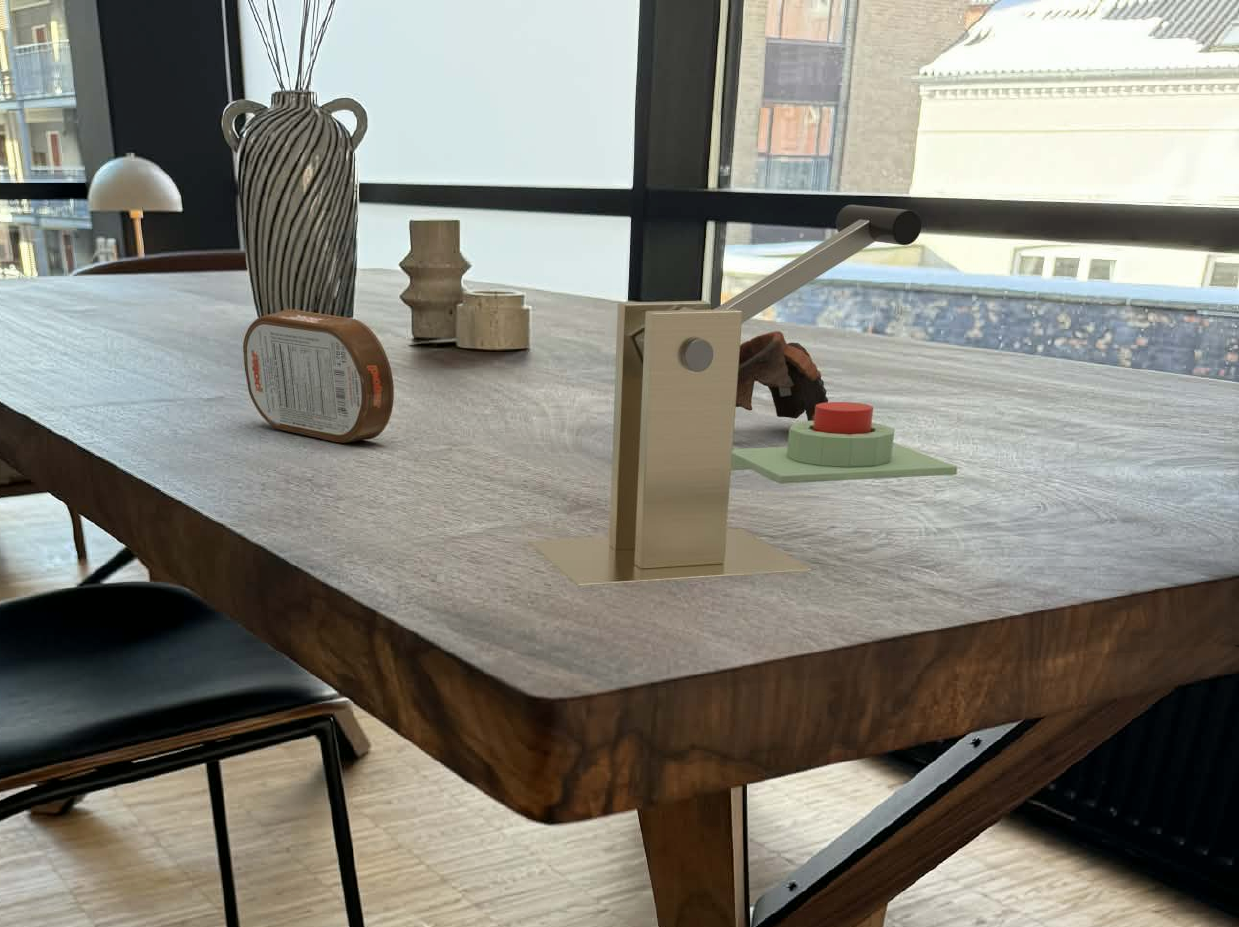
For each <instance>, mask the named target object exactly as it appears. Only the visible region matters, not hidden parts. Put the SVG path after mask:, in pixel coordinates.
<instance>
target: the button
mask: <svg viewBox="0 0 1239 927" xmlns="http://www.w3.org/2000/svg"><path fill="white" fill-rule="evenodd" d="M873 414H874V407H873V406H872V405H870V404H867V403H862V402H861V403H860V402H852V401H828V402H826V403H820V404H817V405H816V406H815V416H814V426H813V430H814V431H817V432H824V433H832V434H866V433H870V432H871V424H872V423H873Z"/></svg>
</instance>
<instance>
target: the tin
mask: <svg viewBox="0 0 1239 927" xmlns="http://www.w3.org/2000/svg"><path fill="white" fill-rule="evenodd" d="M242 350H243V352H242V353H243V364H244V365H243V366H244V372H245V377H246V378H245V379H246V383H247V389H248V393H249V394H248V395H249V396H250V399H251V401H252V403H253V405H254V407H255V409H256V410H257V412H258V413H259V415H260V416H261V417H262V418H263V420H265V421H266V422H267V423H268V425H270V426H272V427H273V428H275V429H276V430H277V429H278V430H281V431H284V432H290V433H294V434H299V435H303V436H308V437H312V438H316V439H321V440H325V441H329V442H334V443H339V444H340V443H341V444H349V443H354V442H359V441H363V440H364V441H366V440H373V439H375V438H377V437H378V436H379V435H381V434H382V433H383V431H384V430H385V429H386V427H387V426H388V425H389V424H388V423H389V421H390V419H391V415H392V413H393V408H394V399H395V387H394V386H395V385H394V379H393V378H394V377H393V372H392V367H391V364H390V361H389V357H388V356H387V353H386V351H385V348H384V347H383V344H382V343H381V341H380V340H379V338H378V337H377V335H376V333H374V331H373V330H372V329H371V328H370V327H369V326H368V325H366V324H365V323H364V322H362V321H361V320H358V319H356V318H353V317H345V316H339V315H331V314H324V313H318V312H311V311H305V310H300V309H299V310H298V309H291V308H288V309H284V310H281V311H280V312H275V313H270V314H265V315H262V316H260V317H257V318H256V319H255V320H254V321H252V322H251V323H250V325H249V326H248V329H247V330H246V333H245V335H244V338H243V343H242Z"/></svg>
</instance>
